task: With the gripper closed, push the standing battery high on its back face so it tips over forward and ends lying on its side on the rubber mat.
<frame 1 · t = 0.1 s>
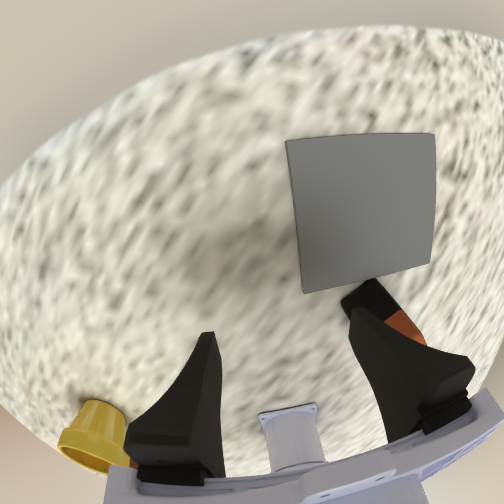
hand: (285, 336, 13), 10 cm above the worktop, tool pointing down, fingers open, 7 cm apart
plant pot: (105, 410, 32), on the worktop
mat: (373, 209, 22), on the worktop
battery: (368, 306, 26), on the worktop
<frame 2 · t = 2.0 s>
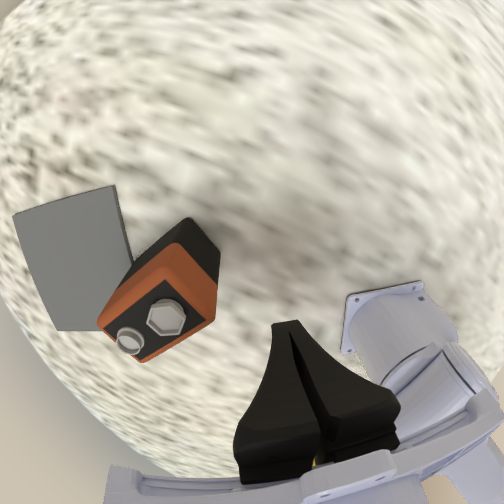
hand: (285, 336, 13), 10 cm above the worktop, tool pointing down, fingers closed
mat: (77, 270, 22), on the worktop
battery: (176, 256, 23), on the worktop
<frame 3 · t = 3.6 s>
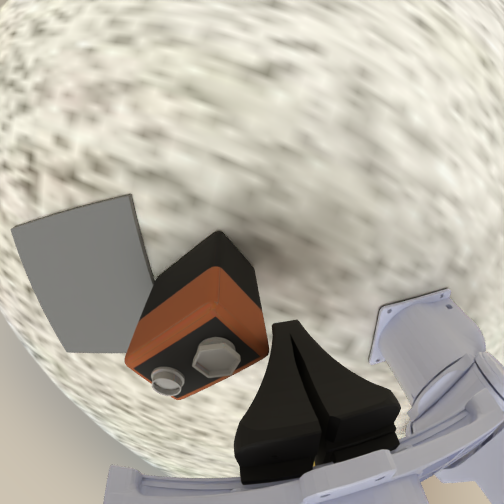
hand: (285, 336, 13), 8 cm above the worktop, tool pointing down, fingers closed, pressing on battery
mat: (88, 288, 20), on the worktop
battery: (203, 273, 21), on the worktop, touching gripper
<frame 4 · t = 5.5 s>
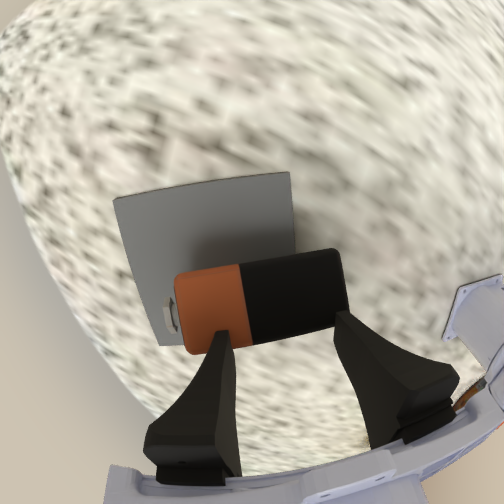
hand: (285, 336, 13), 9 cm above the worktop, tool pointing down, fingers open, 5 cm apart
food container: (473, 393, 37), on the worktop
mat: (212, 271, 22), on the worktop
battery: (329, 285, 18), point 4 cm above the worktop, touching gripper, mat
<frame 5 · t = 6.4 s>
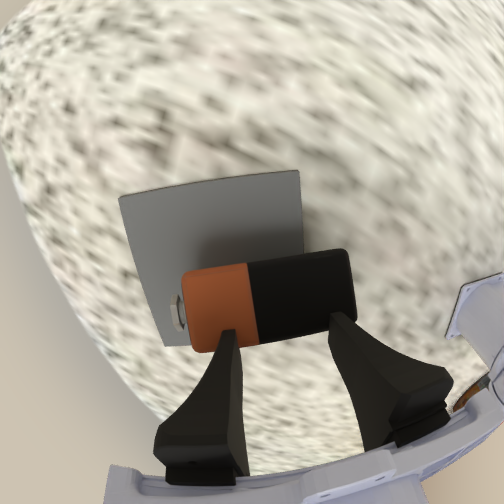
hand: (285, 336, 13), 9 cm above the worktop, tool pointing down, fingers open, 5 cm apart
food container: (474, 391, 37), on the worktop
mat: (219, 270, 21), on the worktop
battery: (337, 285, 17), point 4 cm above the worktop, touching gripper, mat
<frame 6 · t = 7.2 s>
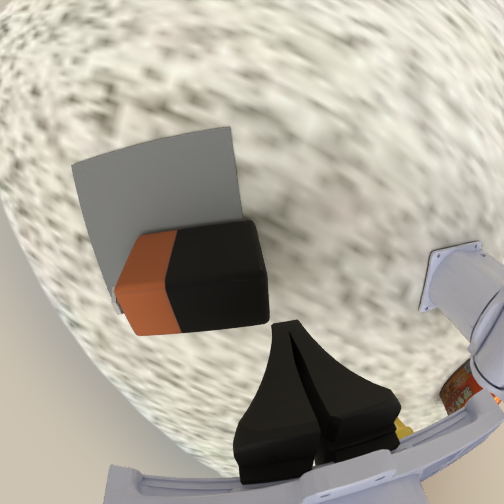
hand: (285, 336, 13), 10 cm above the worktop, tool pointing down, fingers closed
food container: (462, 375, 39), on the worktop
mat: (161, 229, 21), on the worktop
battery: (265, 267, 19), point 4 cm above the worktop, touching mat
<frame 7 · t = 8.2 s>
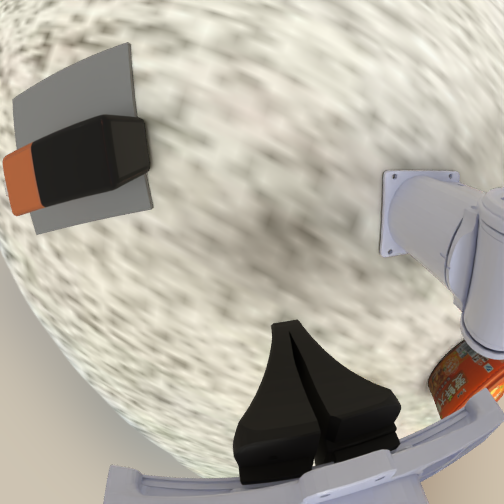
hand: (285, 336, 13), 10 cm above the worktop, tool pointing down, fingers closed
food container: (455, 362, 34), on the worktop
mat: (71, 143, 18), on the worktop
battery: (135, 145, 15), point 4 cm above the worktop, touching mat
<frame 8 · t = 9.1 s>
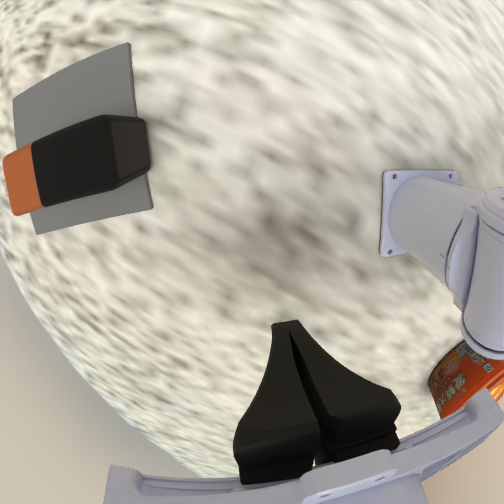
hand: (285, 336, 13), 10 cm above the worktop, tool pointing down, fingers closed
food container: (455, 362, 34), on the worktop
mat: (71, 143, 18), on the worktop
battery: (135, 145, 15), point 4 cm above the worktop, touching mat
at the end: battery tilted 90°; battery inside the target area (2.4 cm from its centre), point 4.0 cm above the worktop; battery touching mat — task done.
